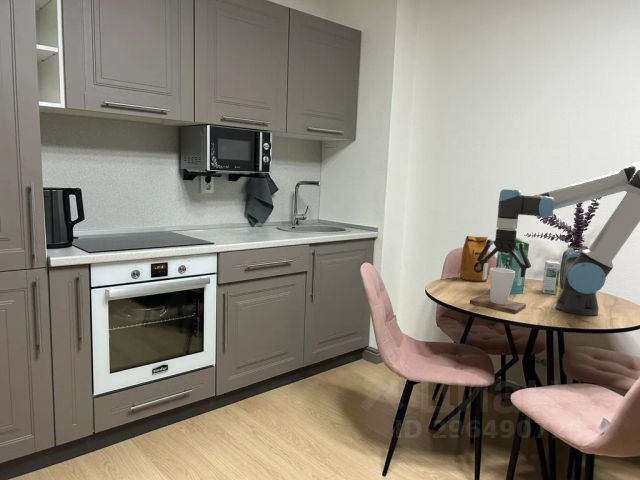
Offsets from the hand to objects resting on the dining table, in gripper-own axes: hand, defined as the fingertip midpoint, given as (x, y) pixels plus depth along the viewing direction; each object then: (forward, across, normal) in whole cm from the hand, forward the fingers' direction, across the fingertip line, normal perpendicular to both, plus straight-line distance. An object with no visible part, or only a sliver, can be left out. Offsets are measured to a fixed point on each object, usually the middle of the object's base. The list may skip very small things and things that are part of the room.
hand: (501, 282), depth 193 cm
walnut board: (+10, +1, 0) cm, 10 cm away
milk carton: (+10, +6, -30) cm, 32 cm away
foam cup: (+8, 0, 0) cm, 8 cm away
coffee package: (+10, +26, -40) cm, 48 cm away
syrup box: (+10, -8, -45) cm, 47 cm away
